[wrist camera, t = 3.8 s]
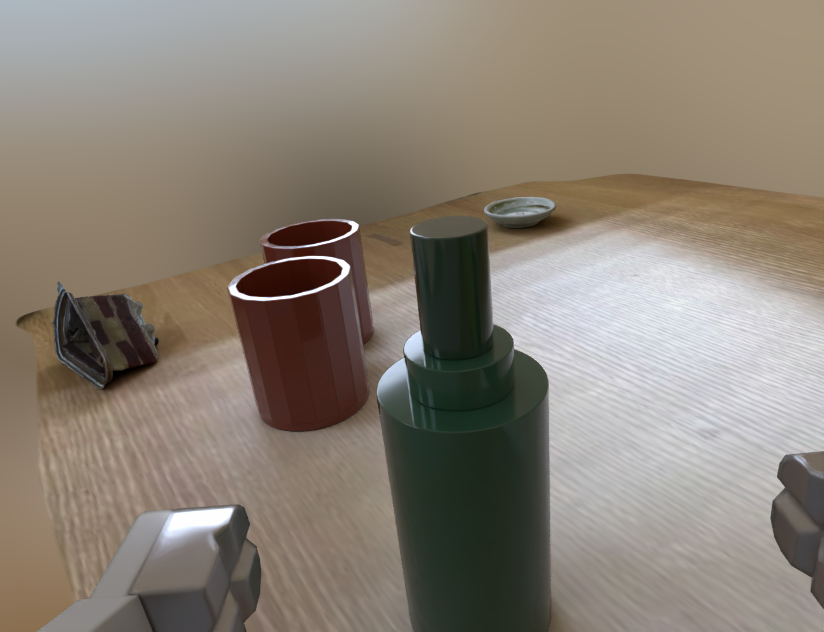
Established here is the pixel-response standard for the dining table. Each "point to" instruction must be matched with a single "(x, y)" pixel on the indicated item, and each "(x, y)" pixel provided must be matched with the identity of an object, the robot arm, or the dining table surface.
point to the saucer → (520, 211)
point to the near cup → (301, 341)
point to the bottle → (467, 448)
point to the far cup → (325, 254)
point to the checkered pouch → (101, 335)
